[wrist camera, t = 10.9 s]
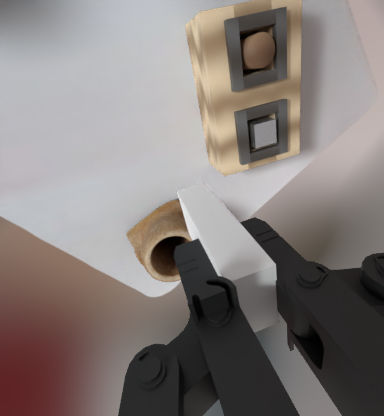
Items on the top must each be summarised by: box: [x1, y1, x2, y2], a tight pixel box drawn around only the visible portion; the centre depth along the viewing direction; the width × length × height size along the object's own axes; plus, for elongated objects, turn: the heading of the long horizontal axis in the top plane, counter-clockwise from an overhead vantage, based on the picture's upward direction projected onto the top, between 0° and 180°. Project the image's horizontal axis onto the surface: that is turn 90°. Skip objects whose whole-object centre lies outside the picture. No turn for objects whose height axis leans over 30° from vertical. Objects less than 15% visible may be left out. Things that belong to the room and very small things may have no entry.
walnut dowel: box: [240, 32, 275, 70], centre depth 36 cm, size 4×4×9 cm
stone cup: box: [126, 200, 192, 282], centre depth 44 cm, size 15×12×15 cm
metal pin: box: [247, 116, 277, 148], centre depth 41 cm, size 4×4×9 cm
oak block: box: [185, 0, 302, 176], centre depth 39 cm, size 22×14×9 cm, turn 12°
